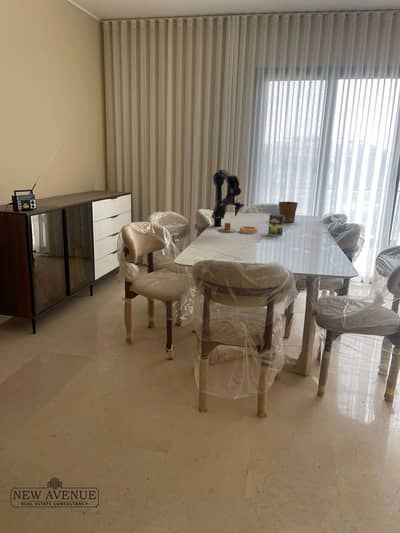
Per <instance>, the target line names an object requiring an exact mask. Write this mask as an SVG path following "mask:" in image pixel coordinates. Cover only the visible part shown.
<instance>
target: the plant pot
mask: <svg viewBox="0 0 400 533" xmlns="http://www.w3.org/2000/svg"><path fill="white" fill-rule="evenodd" d="M298 205H299V203H298V202H297V201H278V208H279V209H278V210H279V213H278V214H281V215H284V221H283V224H285V223H286V224H287V223H288V224H289V223H290V224H291V223H294V222H295V218H296V211H297V208H298Z"/></svg>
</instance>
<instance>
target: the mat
mask: <svg viewBox="0 0 400 533" xmlns="http://www.w3.org/2000/svg"><path fill="white" fill-rule="evenodd" d="M219 229H220V228H217V229H214V230H215V231H217V232H219V233H221V234H226V233H225V232H220V231H219ZM234 233H235V234H236V233H239V231H238V230H236V232H233V233H232V234H234Z"/></svg>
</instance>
